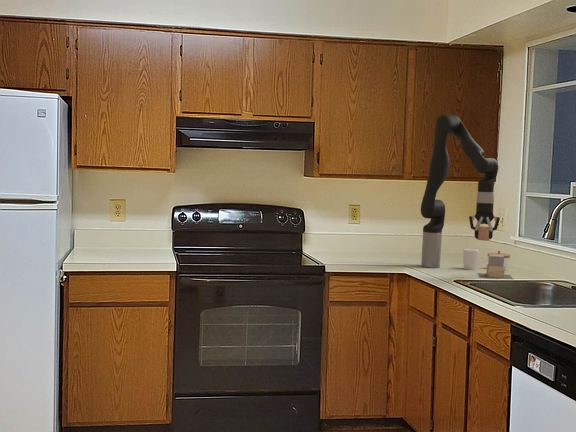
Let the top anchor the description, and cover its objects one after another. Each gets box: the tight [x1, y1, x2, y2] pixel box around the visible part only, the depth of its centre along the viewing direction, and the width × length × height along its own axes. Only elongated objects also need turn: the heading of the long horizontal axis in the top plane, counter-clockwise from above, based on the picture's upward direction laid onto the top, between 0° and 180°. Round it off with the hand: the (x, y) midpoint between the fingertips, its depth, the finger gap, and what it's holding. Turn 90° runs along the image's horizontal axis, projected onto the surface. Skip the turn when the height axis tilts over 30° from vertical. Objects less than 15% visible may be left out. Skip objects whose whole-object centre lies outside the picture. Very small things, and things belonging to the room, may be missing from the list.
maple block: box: [486, 263, 506, 278], centre depth 343 cm, size 7×7×5 cm
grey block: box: [487, 254, 504, 267], centre depth 343 cm, size 6×6×4 cm
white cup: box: [462, 248, 481, 271], centre depth 364 cm, size 8×8×10 cm
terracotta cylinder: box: [477, 225, 490, 242], centre depth 341 cm, size 5×5×6 cm
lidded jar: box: [487, 250, 511, 270], centre depth 369 cm, size 11×11×9 cm
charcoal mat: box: [476, 272, 515, 280], centre depth 344 cm, size 13×15×1 cm
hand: (483, 238), depth 342 cm, fingers closed on terracotta cylinder, 5 cm apart
